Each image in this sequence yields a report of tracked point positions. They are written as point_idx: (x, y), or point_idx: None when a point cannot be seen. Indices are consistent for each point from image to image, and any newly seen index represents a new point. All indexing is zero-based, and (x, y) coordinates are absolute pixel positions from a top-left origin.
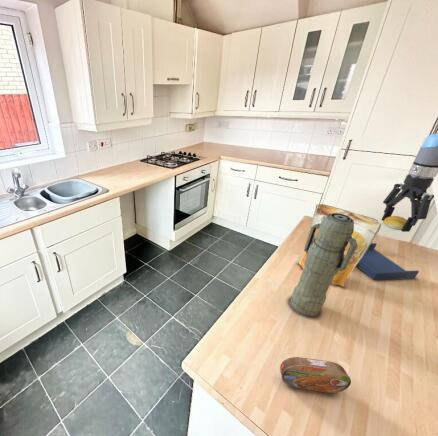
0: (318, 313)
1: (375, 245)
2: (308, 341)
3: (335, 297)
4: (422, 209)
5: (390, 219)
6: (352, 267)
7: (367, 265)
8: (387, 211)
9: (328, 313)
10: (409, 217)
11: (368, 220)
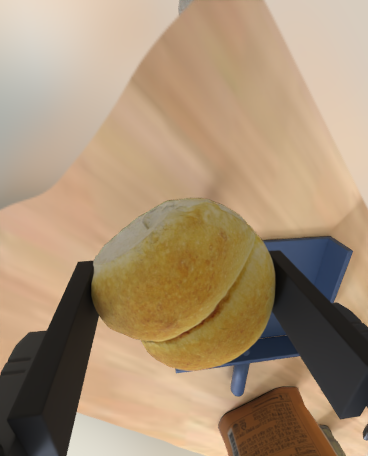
0: (329, 429)
1: None
2: (352, 440)
3: (311, 402)
4: None
5: (190, 370)
6: (330, 449)
7: (284, 357)
8: (78, 396)
9: (331, 417)
10: (347, 416)
11: None
